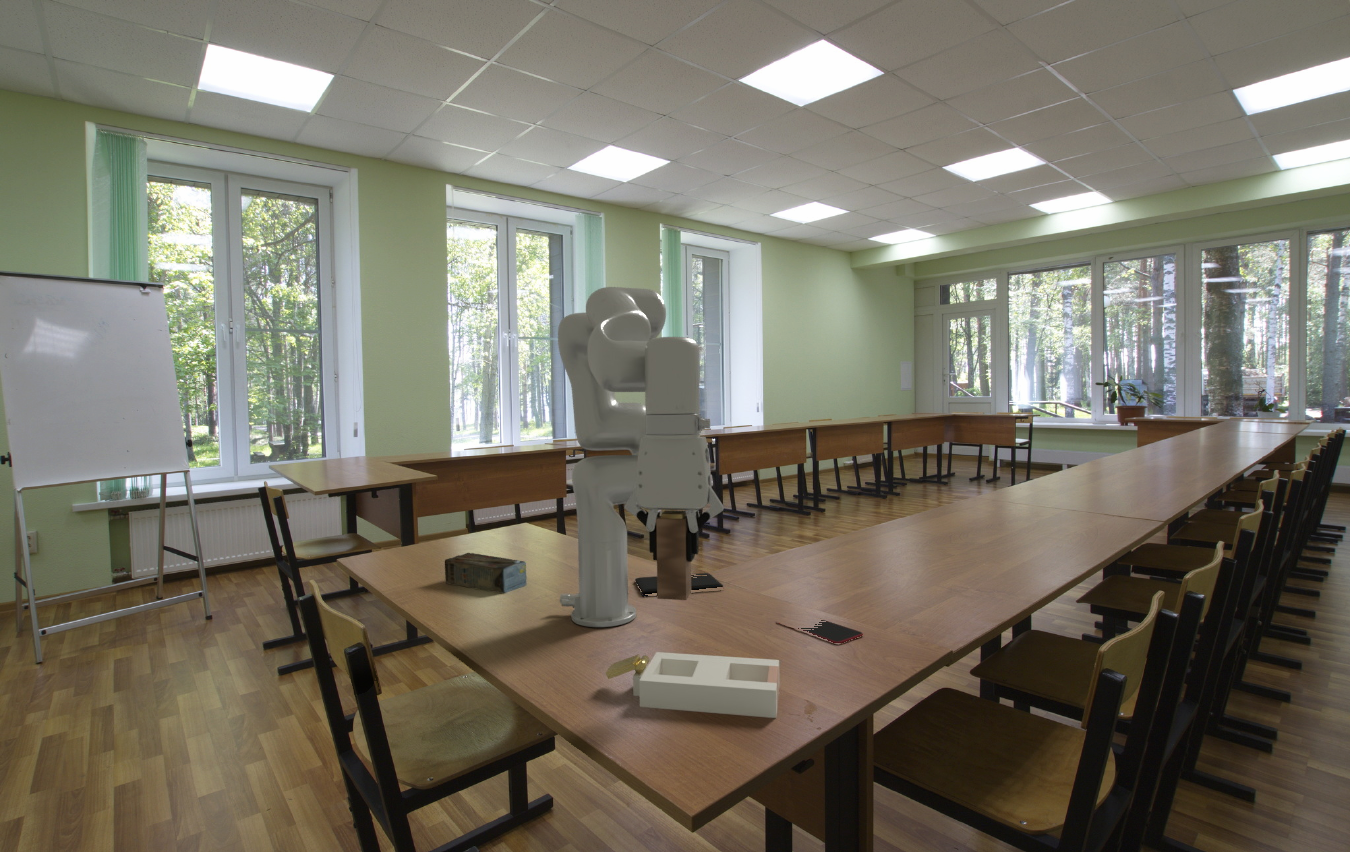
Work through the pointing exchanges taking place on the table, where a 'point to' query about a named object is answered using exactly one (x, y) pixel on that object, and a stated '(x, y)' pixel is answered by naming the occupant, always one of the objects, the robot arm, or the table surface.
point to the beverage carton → (485, 572)
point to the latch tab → (628, 666)
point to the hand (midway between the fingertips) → (674, 557)
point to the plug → (672, 556)
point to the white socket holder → (709, 684)
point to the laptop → (701, 582)
